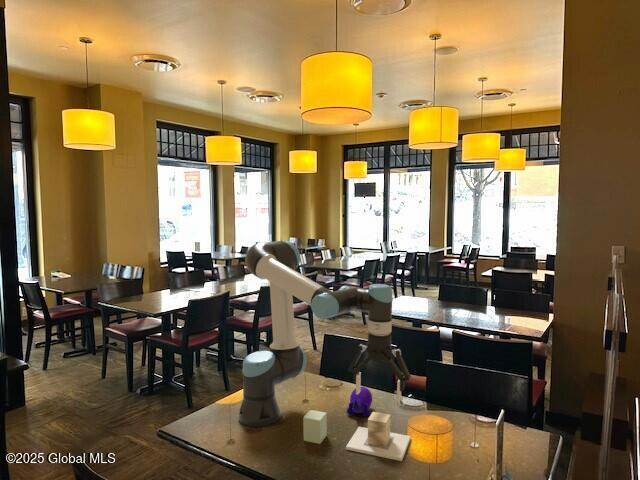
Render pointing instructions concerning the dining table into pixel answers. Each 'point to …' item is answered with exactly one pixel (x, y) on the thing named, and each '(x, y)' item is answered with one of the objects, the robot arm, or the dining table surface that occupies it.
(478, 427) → the dining table surface
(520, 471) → the dining table surface
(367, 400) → the toy
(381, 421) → the block maple
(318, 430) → the block sage
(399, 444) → the base plate
